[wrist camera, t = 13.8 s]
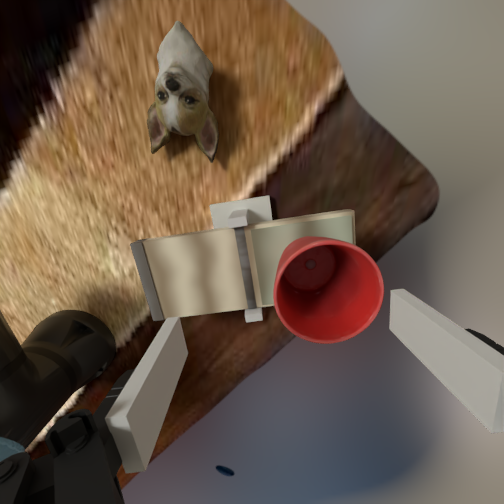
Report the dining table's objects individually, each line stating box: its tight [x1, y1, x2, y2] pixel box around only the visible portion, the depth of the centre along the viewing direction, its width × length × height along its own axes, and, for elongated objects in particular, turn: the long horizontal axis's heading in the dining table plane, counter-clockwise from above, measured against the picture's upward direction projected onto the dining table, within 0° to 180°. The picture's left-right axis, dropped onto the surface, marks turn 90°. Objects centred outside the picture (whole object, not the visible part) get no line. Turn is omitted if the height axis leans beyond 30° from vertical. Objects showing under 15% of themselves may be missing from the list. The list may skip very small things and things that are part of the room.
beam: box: [130, 209, 356, 321], centre depth 34 cm, size 30×12×3 cm, turn 99°
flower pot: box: [273, 236, 384, 344], centre depth 27 cm, size 11×11×10 cm
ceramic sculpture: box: [147, 21, 219, 163], centre depth 33 cm, size 11×9×15 cm
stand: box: [209, 196, 272, 322], centre depth 37 cm, size 20×18×11 cm
